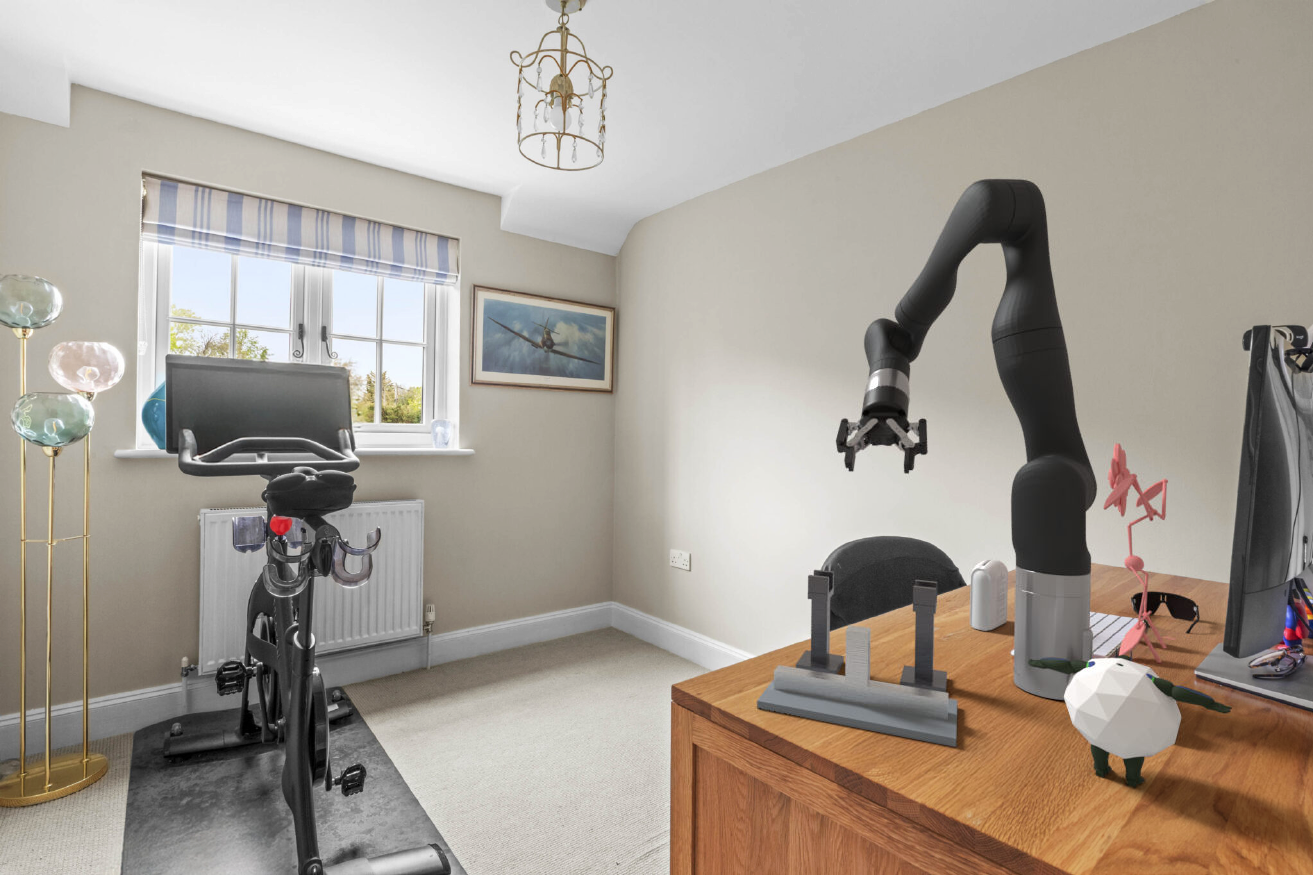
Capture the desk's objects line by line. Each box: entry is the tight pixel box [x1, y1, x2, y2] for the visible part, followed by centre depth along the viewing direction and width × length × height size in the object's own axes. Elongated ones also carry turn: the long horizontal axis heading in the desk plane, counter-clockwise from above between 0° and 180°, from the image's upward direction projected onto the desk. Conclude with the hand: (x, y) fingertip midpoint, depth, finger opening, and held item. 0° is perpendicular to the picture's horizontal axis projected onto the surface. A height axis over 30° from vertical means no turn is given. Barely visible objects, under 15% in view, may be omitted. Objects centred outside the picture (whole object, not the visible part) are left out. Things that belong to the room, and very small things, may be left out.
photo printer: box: [969, 558, 1009, 632], centre depth 124 cm, size 10×4×12 cm, turn 134°
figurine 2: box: [1028, 647, 1233, 789], centre depth 71 cm, size 18×10×13 cm, turn 44°
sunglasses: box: [1130, 590, 1201, 634], centre depth 127 cm, size 10×12×5 cm
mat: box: [756, 678, 958, 748], centre depth 87 cm, size 24×12×1 cm, turn 65°
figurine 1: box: [1103, 443, 1176, 663], centre depth 113 cm, size 15×26×35 cm, turn 138°
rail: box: [773, 624, 949, 720], centre depth 87 cm, size 22×2×10 cm, turn 65°
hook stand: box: [795, 569, 948, 693], centre depth 99 cm, size 21×7×14 cm, turn 65°
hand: (878, 469), depth 105 cm, fingers open, 8 cm apart
